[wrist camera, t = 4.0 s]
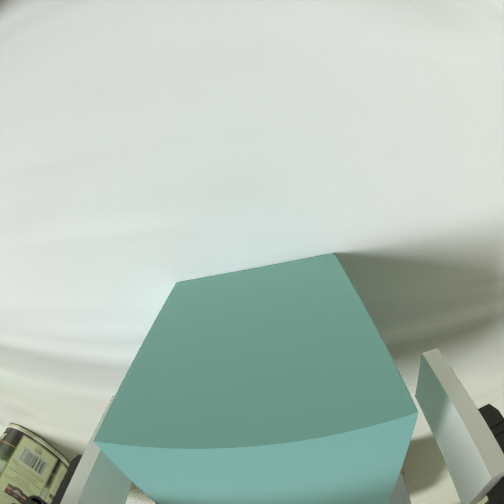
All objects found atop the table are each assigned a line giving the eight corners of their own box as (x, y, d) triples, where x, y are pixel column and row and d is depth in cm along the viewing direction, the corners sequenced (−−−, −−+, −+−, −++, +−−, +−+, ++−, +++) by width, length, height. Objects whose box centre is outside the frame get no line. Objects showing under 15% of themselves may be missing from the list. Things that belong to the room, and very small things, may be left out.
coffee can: (20, 450, 26) (-15, 515, 13) (-1, 410, 23) (-50, 486, 10) (80, 481, 27) (50, 556, 14) (65, 449, 24) (22, 541, 10)
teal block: (176, 282, 15) (93, 441, 6) (333, 252, 15) (418, 412, 5) (218, 391, 18) (195, 533, 9) (344, 372, 17) (382, 516, 8)
